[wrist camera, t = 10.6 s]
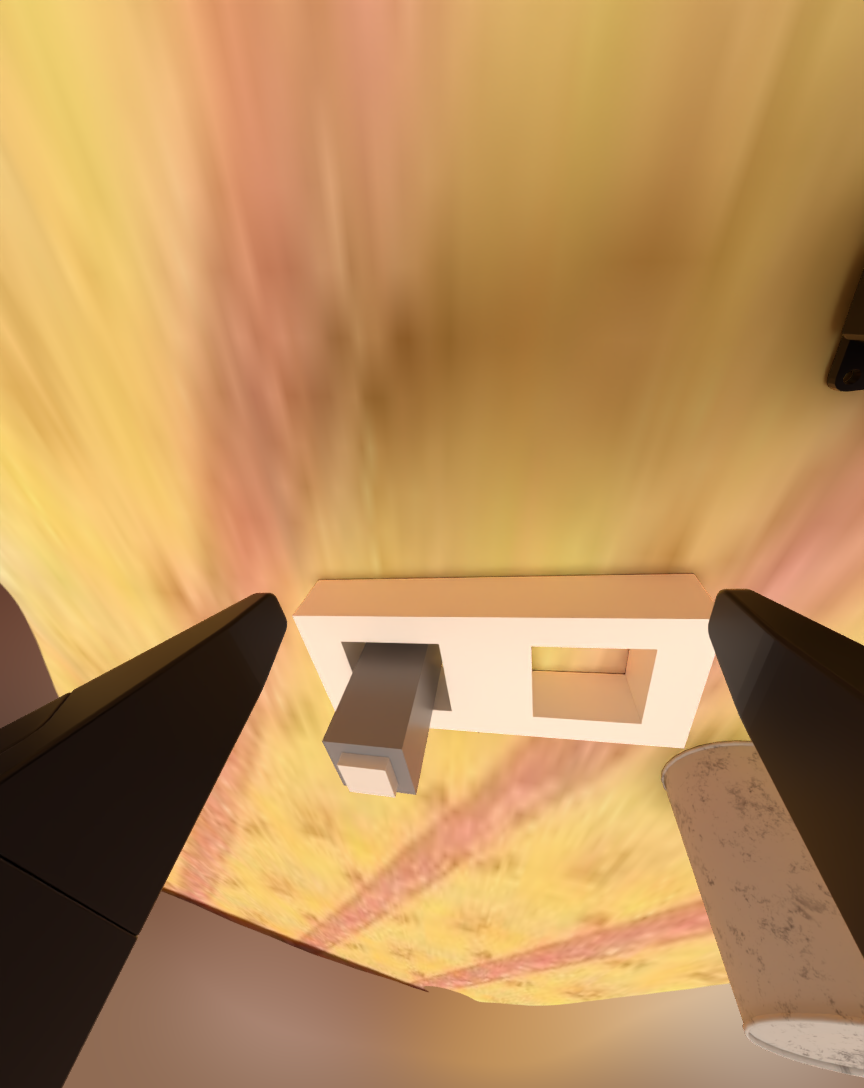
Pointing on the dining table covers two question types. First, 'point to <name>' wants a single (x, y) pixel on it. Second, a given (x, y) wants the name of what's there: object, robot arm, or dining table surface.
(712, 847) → the stone cylinder
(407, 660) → the plug
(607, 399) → the dining table surface
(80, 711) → the robot arm
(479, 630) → the socket strip
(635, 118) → the dining table surface
